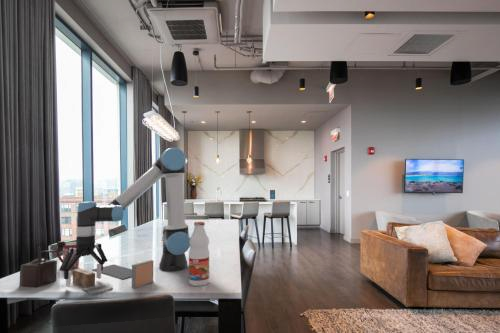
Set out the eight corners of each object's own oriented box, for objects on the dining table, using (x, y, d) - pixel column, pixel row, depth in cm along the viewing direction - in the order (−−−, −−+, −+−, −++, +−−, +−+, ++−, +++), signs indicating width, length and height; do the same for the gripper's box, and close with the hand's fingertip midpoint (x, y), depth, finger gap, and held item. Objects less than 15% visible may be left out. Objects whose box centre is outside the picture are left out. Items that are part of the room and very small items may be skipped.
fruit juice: (212, 280, 139) (212, 221, 141) (204, 287, 130) (204, 224, 132) (194, 278, 142) (194, 220, 144) (185, 285, 133) (185, 223, 134)
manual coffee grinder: (38, 287, 131) (40, 247, 132) (18, 286, 133) (20, 246, 134) (66, 276, 146) (68, 240, 147) (48, 275, 148) (49, 239, 149)
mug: (84, 265, 166) (84, 241, 167) (73, 270, 157) (74, 245, 157) (62, 265, 166) (63, 241, 167) (51, 270, 157) (51, 244, 158)
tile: (150, 281, 139) (150, 259, 139) (153, 282, 138) (153, 260, 138) (131, 287, 130) (132, 264, 131) (134, 288, 129) (134, 265, 130)
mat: (113, 265, 167) (113, 264, 167) (144, 273, 151) (144, 272, 151) (92, 270, 157) (92, 269, 157) (122, 279, 141) (122, 278, 141)
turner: (66, 284, 135) (67, 271, 135) (84, 279, 142) (85, 267, 142) (94, 295, 122) (94, 280, 122) (112, 289, 128) (112, 275, 129)
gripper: (107, 230, 148) (105, 273, 146) (52, 238, 127) (49, 288, 126) (115, 232, 143) (114, 276, 142) (60, 240, 123) (57, 291, 122)
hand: (83, 282), depth 134 cm, fingers open, 13 cm apart
